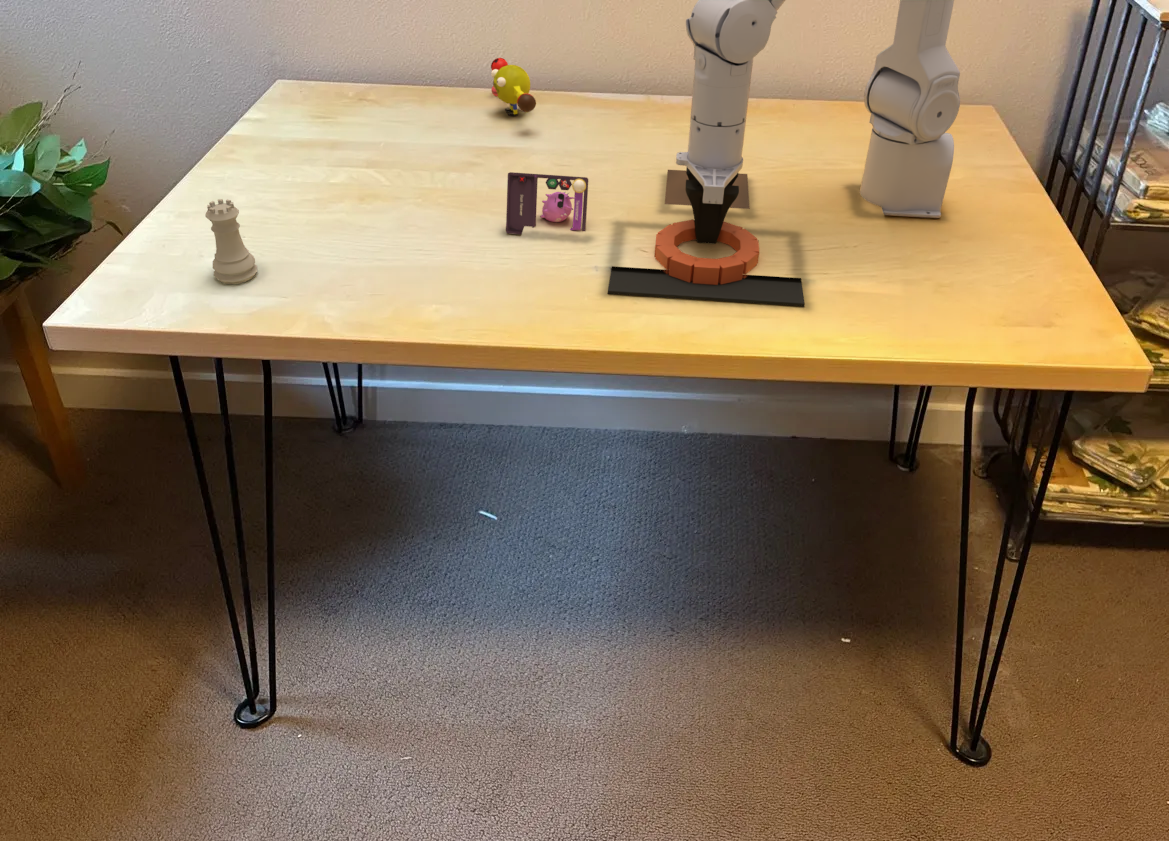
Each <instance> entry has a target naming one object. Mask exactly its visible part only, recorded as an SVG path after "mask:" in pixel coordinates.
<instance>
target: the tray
mask: <svg viewBox="0 0 1169 841" xmlns="http://www.w3.org/2000/svg"><path fill="white" fill-rule="evenodd" d="M663 270H664V269H663ZM663 270H662V269H661V268H646V267H645V268H644V267H629V266H615V265H614V266H613V265H611V268H610V275H609V281H608V287H607V295H616V296H617V295H618V296H630V297H631V296H632V297H650V298H662V299H663V298H664V299H677V300H679V299H681V300H693V301H695V300H696V301H709V302H711V301H713V302H725V303H740V304H741V303H742V304H754V305H755V304H756V305H771V306H787V307H801V308H802V307H805V304H806V303H805V296H804V290H803V289H804V288H803V282H802V281H803V280H802V277H789V276H787V277H786V276H774V275H771V276H770V275H756V274H748V275H749V276H747V277H746V278H745V279H744V278H742V280H739V281H735V282H730V283H726V284H720V283H719V282H718V285H711V284H695V283H693V280H692V281H691V282H690V283H689V282H686V281H683V280H681V279H678V278H675V277H672V276H669V274H666V273H665V272H664V271H663Z"/></svg>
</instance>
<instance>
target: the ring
mask: <svg viewBox="0 0 1169 841" xmlns="http://www.w3.org/2000/svg"><path fill="white" fill-rule="evenodd" d="M694 240H695V241H697V240H696V234H695V224H694V219H688V220H687V219H686V220H683V221H678V222H672V224H668V225H667V226H665V227H664V228H662V229H661V230H659V231H658V232H657V233H656V234H655V245H654V258H655V260H656V261H657V262H658V263H659V265H661V266H662V267H663V268H664V269H662V270H663V271H664V272H665V273H666V274H669V276H672V277H675V278H678V279H681V280H683V281H686V282H689V283H690V282H691V281H692V280H693V283H695V284H711V285H718V282H719V283H720V284H726V283H730V282H735V281H739V280H742V278H744V279H745V278H746V277H747V276H749V275H750V274H748V273H749V272H751V270H753V269H755V267H757V266H758V263H759V256H760V243H759V242H760V241H759V239H758V238H757V236H755V235H753V234H752V233H751V232H749V230H747V229H746V228H743V227H742V226H739V225H736V224H733V223H730V222H727V221H725V220H724V221H723V224H722V228H721V231H720V234H719V237H718V239H717V242H719V243H722V244H726V245H728V246H730V247H731V248H732V249H734V250H735V251H736V252H734V253H733V254H732V255H728V256H723V257H719V258H709V257H708V258H707V257H698V256H694V255H692V254H688V253H685V252H683V251H682V250H681V249H680V248H679V247H678V246H679V245H681V244H682V243H685V242H690V241H694Z"/></svg>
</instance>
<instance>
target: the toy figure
mask: <svg viewBox="0 0 1169 841" xmlns="http://www.w3.org/2000/svg"><path fill="white" fill-rule="evenodd" d="M490 64H491V65H490V70H491V72H490V76H491V78H493V81H492V82H493V83H492V87H491V93H492V95H493V96H494V97H497V98H498V99H499V100H500V101H502V102H503V103H505V104H508V105H509V108H504V111H505V112H506V113H507V116H510V117H517V116H519V113H518V109H519V110H520V111H521V112H523V113H530V112H532V111H533V110H534V109H535V108H536V106H537V101H536V98H535V97H534V95H532V94H530V91H531V85H532V84H531V79H530V76H529V74H528V73H527V71H526V70H525V69H524V68H523V67H521V66H519V65H516V64H509V63H508V61H507V60H506V59H504V58H503V57H497V58H495V59H493V61H492V62H491V63H490Z"/></svg>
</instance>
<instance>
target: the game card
mask: <svg viewBox="0 0 1169 841" xmlns="http://www.w3.org/2000/svg"><path fill="white" fill-rule="evenodd" d="M539 179H546V181H545V185H546V187H547V189H548V190H557V188H558V187H559V188H560V190H561V191H555V192H552V193H545V196H546V197H547V199H546V200H544V199H543V200H541V202H542V203H543V205H542V208H541V212H542V214H541V215H540V216H539V218H542V219H545V220H546V221H549V222H552V223H561V222H563V221H565V220H567V218H569V217H570V215H571V213H572V211H573V217H572V227H570V229H569V230H570V231H582V232H586V230H587V228H586V227H587V213H588V212H587V211H588V196H589V195H588V194H589V193H588V192H589V178H588V177H585V176H572V175H571V176H570V175H557V174H544V173H543V174H541V173H525V172H511V171H509V172H507V184H506V213H505V214H506V218H505V233H506V234H508V235H509V234H510V235H522V234H523V232H524V229H525V227H529V228H533V229H534V228H536V226H537V202H538V180H539ZM570 188H572V190H573V191H574V195H573V196H569V194H570V192H567V193H566V191H569V190H570ZM562 191H563V192H562ZM571 200H573V204H572V201H571Z"/></svg>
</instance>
